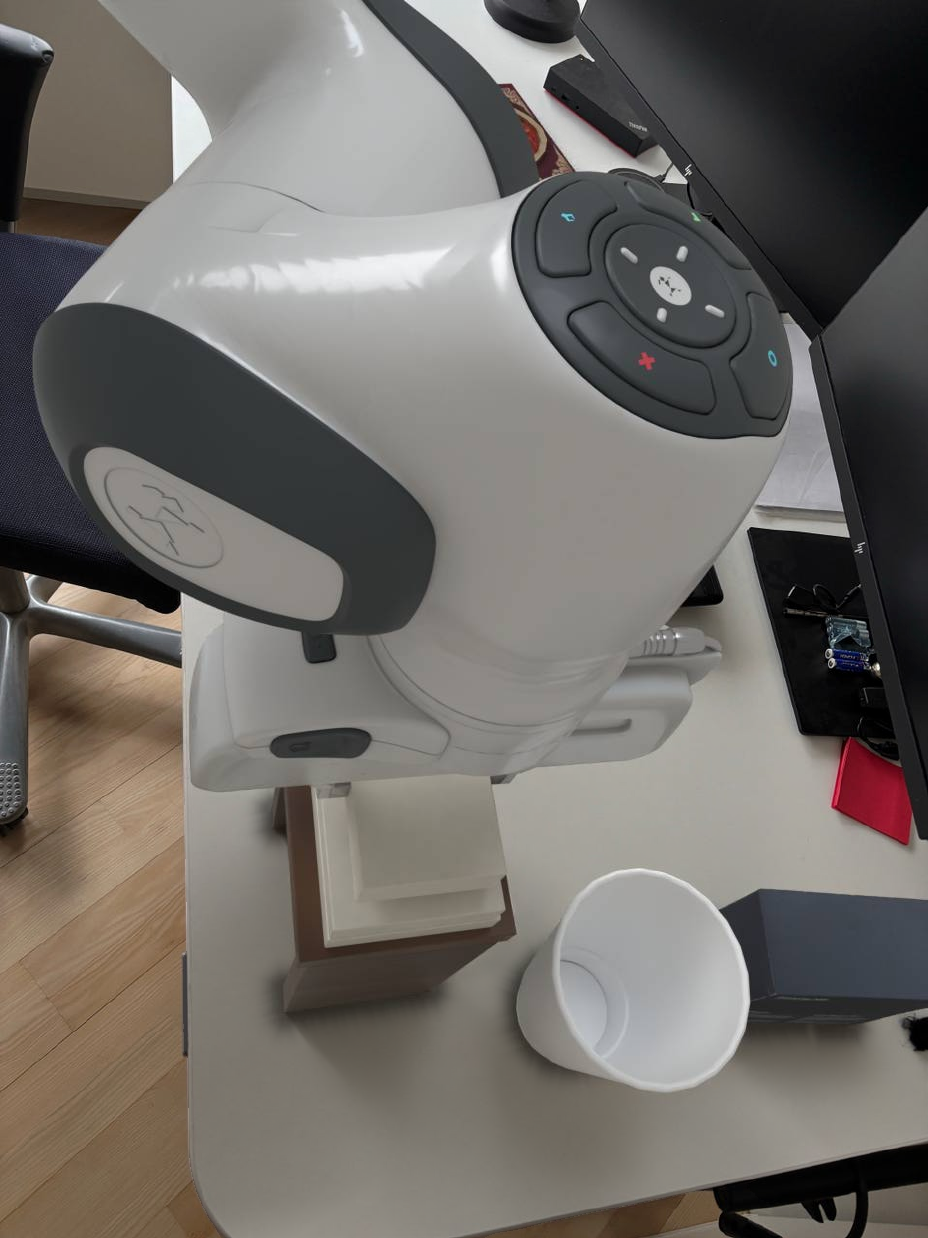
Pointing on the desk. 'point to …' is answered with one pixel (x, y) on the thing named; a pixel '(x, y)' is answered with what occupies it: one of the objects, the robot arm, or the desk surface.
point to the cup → (638, 984)
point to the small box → (831, 955)
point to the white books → (385, 917)
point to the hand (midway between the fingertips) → (411, 776)
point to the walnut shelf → (365, 965)
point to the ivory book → (423, 836)
